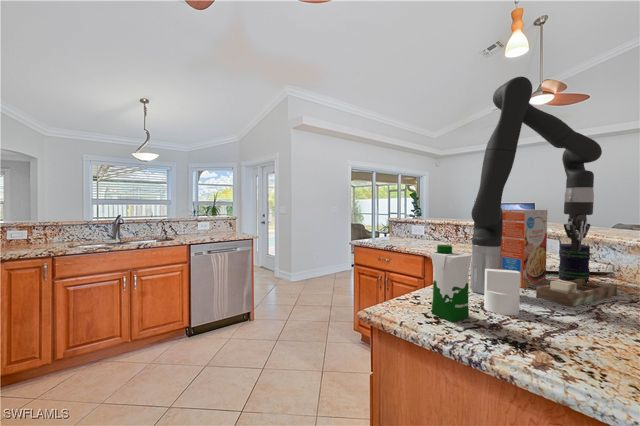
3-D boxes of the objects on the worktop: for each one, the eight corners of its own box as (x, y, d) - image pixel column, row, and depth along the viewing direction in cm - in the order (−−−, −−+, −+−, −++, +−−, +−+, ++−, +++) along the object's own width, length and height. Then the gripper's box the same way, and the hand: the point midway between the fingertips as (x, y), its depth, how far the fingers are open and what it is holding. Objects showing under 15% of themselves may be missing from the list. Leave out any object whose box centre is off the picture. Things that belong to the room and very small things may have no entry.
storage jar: (568, 282, 116) (569, 246, 116) (552, 276, 126) (553, 243, 126) (596, 284, 115) (597, 247, 114) (578, 277, 124) (579, 244, 124)
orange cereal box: (523, 288, 108) (524, 210, 107) (500, 283, 115) (501, 210, 114) (545, 279, 121) (547, 209, 120) (523, 275, 128) (525, 209, 127)
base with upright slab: (487, 313, 84) (488, 272, 83) (481, 303, 92) (482, 266, 92) (523, 317, 81) (524, 275, 80) (514, 306, 89) (514, 268, 89)
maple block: (567, 297, 92) (568, 285, 92) (550, 292, 97) (550, 281, 96) (576, 295, 94) (576, 283, 94) (558, 291, 99) (558, 279, 98)
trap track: (571, 306, 89) (571, 295, 89) (536, 297, 98) (536, 287, 98) (616, 294, 101) (616, 284, 101) (581, 287, 110) (581, 278, 110)
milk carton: (446, 308, 88) (447, 243, 87) (474, 318, 80) (475, 247, 79) (426, 313, 83) (427, 245, 83) (453, 324, 75) (454, 250, 75)
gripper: (582, 200, 92) (579, 253, 93) (602, 201, 98) (599, 251, 99) (555, 200, 99) (552, 249, 100) (575, 201, 105) (572, 247, 105)
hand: (575, 250), depth 99 cm, fingers closed
